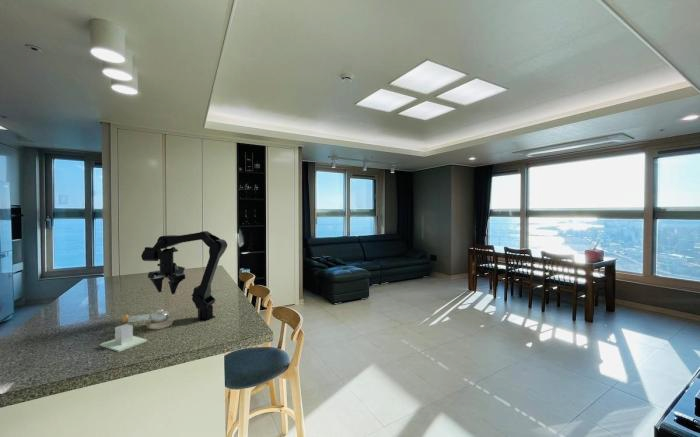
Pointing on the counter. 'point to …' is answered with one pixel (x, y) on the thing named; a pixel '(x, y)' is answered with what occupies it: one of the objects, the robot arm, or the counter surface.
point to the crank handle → (148, 317)
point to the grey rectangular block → (123, 334)
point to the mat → (118, 347)
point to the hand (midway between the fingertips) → (166, 293)
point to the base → (159, 324)
